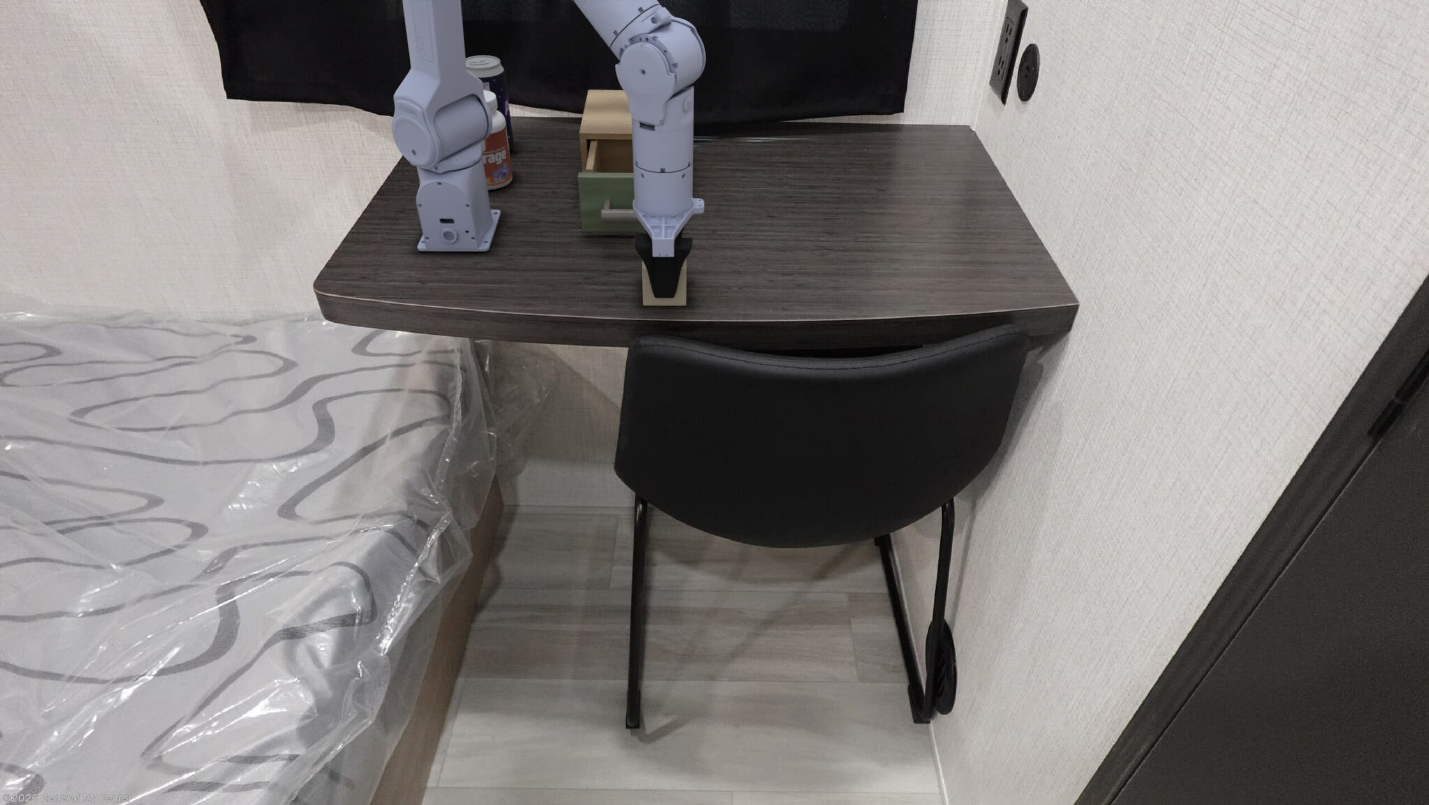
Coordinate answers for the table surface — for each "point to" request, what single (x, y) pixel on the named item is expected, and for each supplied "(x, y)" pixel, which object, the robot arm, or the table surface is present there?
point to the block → (651, 300)
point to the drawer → (608, 188)
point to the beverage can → (493, 84)
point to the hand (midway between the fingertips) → (664, 282)
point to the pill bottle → (496, 148)
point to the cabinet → (604, 119)
